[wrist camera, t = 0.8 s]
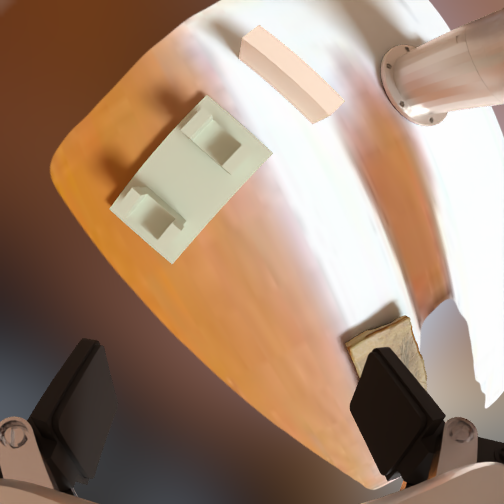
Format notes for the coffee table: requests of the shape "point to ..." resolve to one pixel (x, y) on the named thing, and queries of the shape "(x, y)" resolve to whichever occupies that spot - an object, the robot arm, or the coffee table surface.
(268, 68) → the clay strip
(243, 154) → the grey mounting plate
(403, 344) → the stone slab
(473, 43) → the robot arm
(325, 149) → the coffee table surface
